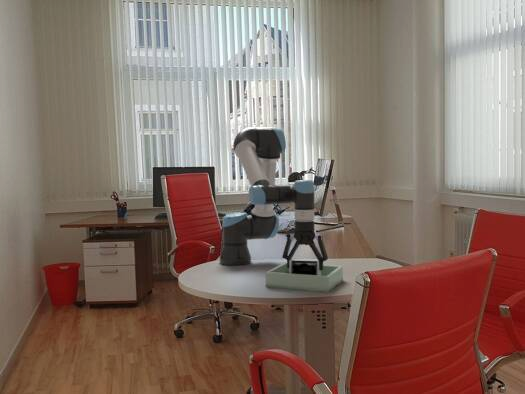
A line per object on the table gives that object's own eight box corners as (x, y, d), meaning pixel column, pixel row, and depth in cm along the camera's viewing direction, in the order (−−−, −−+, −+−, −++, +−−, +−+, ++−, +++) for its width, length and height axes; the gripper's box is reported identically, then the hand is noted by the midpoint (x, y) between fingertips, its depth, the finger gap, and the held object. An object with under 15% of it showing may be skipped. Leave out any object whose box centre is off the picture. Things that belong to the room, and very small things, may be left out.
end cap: (319, 277, 197) (319, 259, 197) (316, 281, 190) (316, 263, 190) (294, 276, 200) (294, 259, 199) (290, 280, 193) (290, 262, 192)
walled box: (265, 286, 190) (265, 272, 190) (284, 275, 209) (284, 262, 209) (328, 292, 181) (328, 276, 181) (342, 280, 200) (342, 266, 199)
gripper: (273, 220, 195) (273, 277, 196) (331, 222, 186) (331, 281, 187) (280, 218, 202) (280, 273, 203) (336, 220, 193) (336, 277, 194)
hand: (305, 277), depth 195 cm, fingers closed on end cap, 10 cm apart
